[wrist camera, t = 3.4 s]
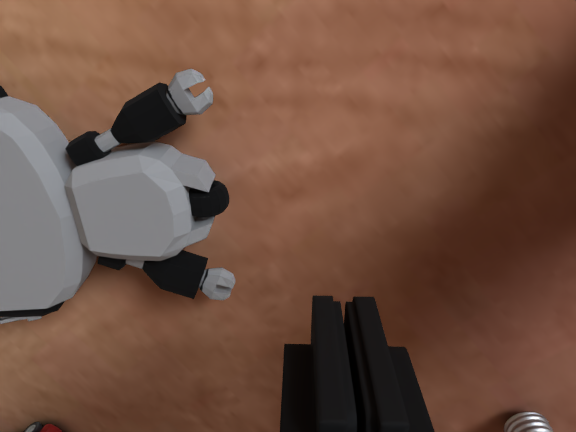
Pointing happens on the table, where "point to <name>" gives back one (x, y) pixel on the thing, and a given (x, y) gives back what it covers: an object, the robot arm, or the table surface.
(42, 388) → the table surface
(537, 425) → the lightbulb
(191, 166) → the robot toy
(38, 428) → the toy fire truck
